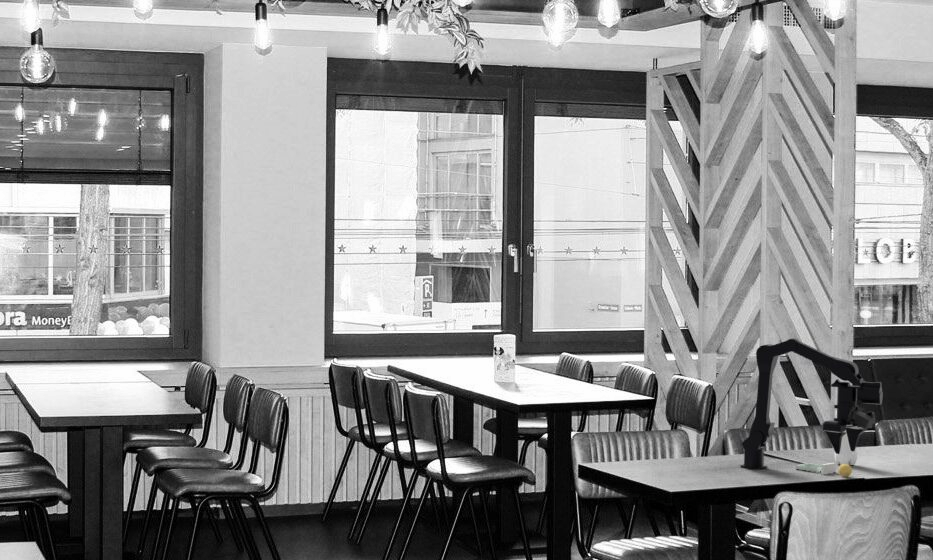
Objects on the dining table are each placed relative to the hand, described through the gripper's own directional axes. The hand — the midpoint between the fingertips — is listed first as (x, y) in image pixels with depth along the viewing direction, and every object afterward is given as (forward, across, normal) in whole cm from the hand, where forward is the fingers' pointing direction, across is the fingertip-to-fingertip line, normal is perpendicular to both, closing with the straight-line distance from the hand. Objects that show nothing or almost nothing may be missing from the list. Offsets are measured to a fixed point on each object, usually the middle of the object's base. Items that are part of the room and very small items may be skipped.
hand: (845, 452), depth 363 cm
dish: (+8, +3, +13) cm, 15 cm away
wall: (+8, +2, +6) cm, 10 cm away
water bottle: (+8, +22, +12) cm, 26 cm away
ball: (+6, 0, 0) cm, 6 cm away
